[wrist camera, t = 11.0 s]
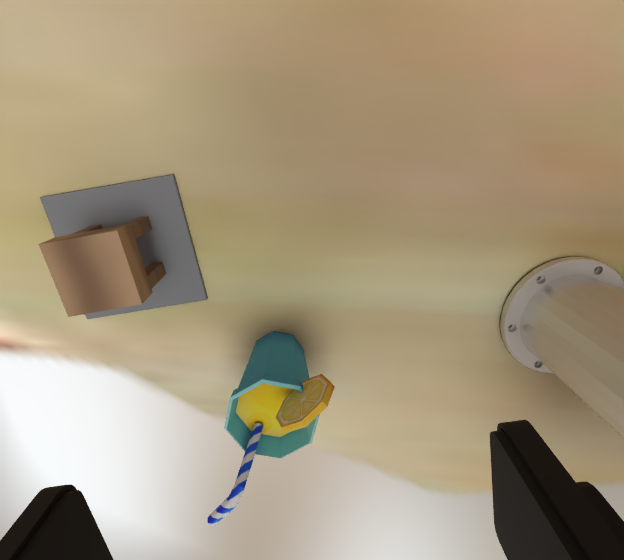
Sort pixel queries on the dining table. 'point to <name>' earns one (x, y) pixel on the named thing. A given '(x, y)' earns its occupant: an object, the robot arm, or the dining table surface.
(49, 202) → the mat
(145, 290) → the brown box with pegs
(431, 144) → the dining table surface
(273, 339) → the cup
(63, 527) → the robot arm
